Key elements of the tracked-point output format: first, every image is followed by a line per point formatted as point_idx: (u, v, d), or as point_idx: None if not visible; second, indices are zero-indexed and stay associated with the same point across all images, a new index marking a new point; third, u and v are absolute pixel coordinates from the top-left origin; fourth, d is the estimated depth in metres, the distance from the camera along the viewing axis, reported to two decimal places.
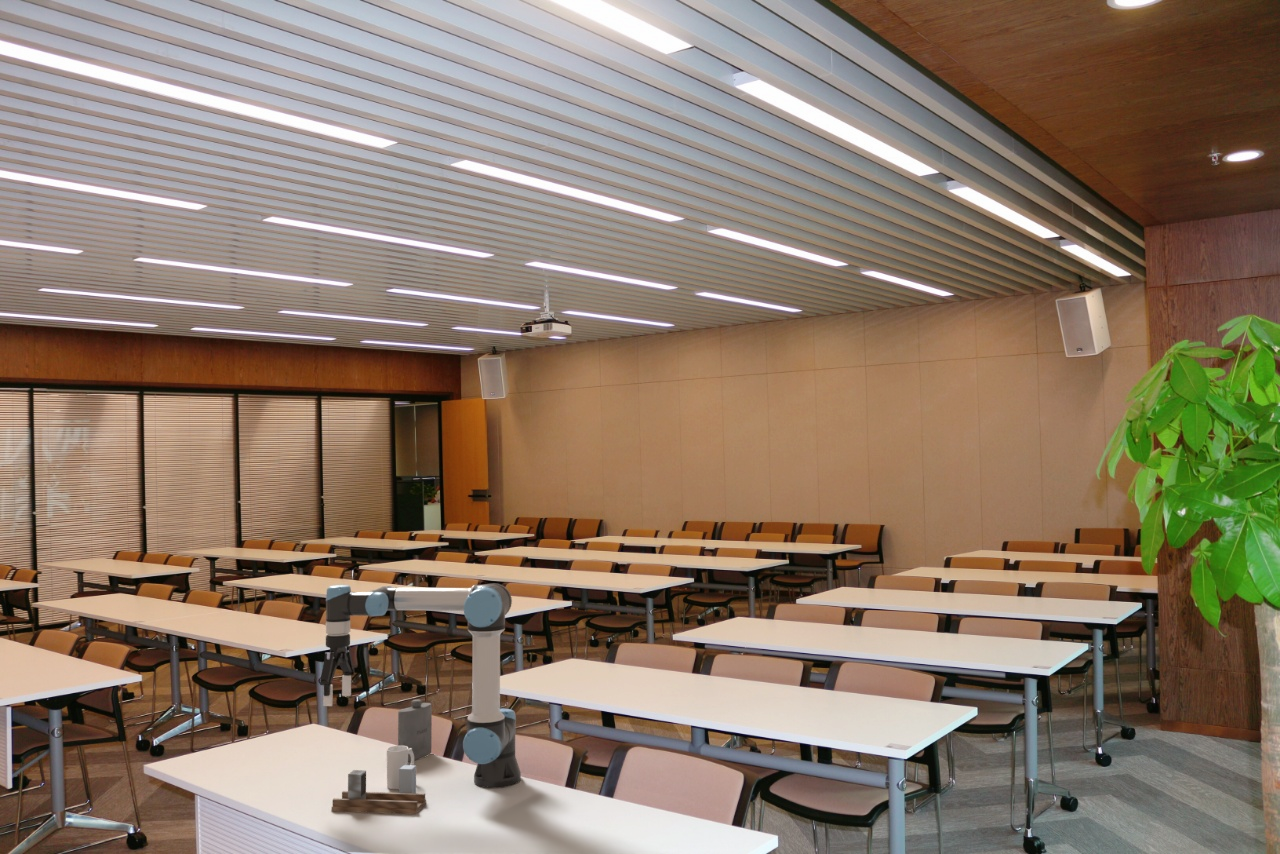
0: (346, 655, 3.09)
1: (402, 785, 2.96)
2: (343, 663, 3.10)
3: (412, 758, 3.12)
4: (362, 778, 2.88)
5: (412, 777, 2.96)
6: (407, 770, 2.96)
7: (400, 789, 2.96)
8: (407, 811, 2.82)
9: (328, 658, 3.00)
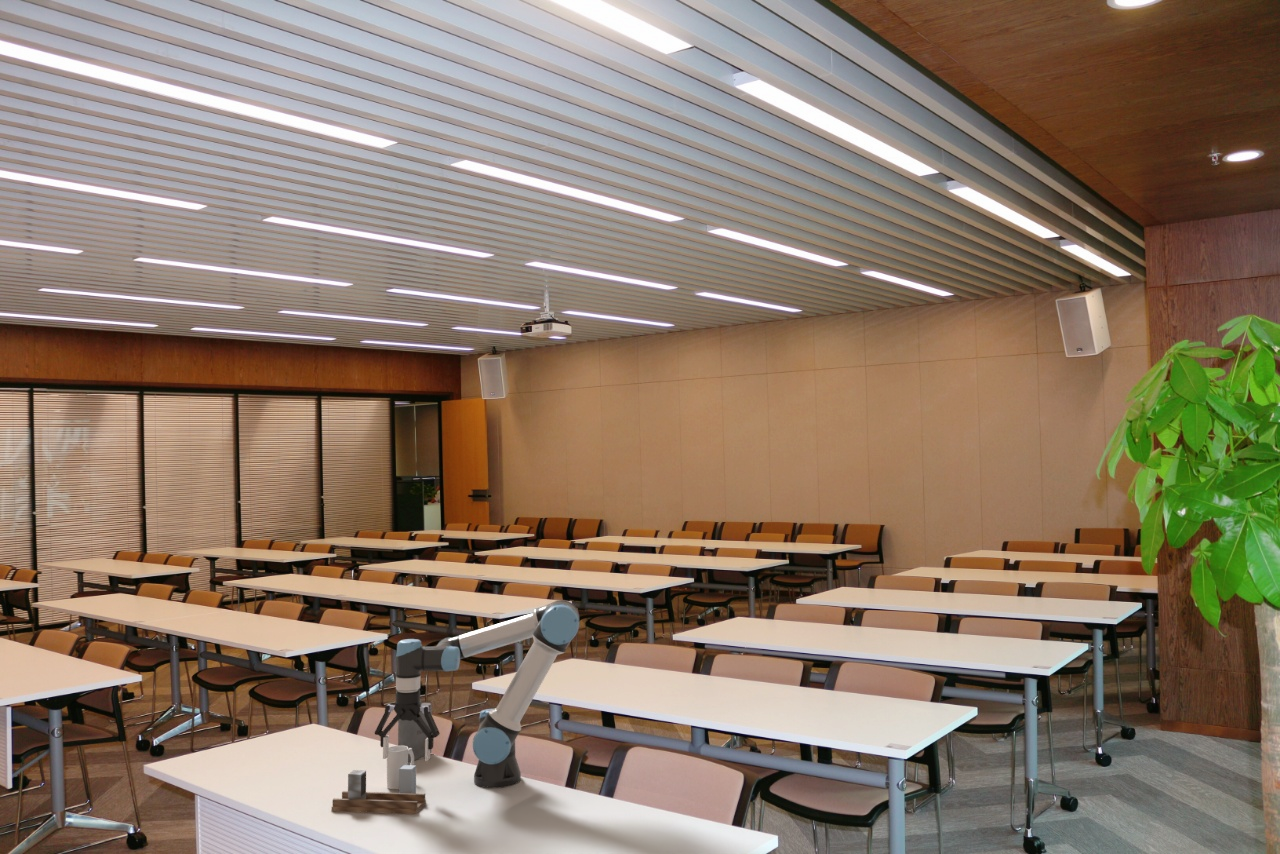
0: (414, 715, 2.97)
1: (402, 785, 2.96)
2: None
3: (412, 758, 3.12)
4: (362, 778, 2.88)
5: (412, 777, 2.96)
6: (407, 770, 2.96)
7: (400, 789, 2.96)
8: (407, 811, 2.82)
9: None
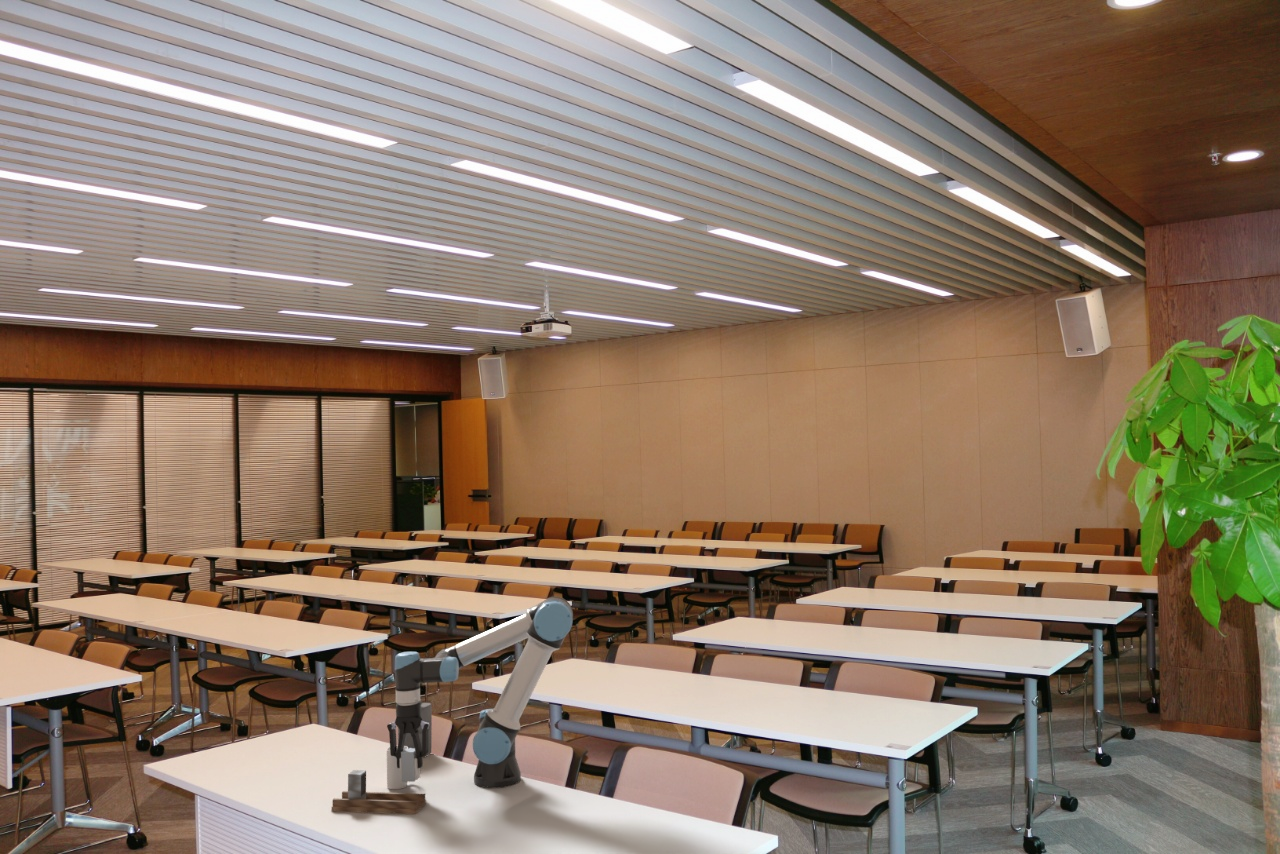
0: (413, 729, 2.97)
1: (404, 768, 2.96)
2: None
3: None
4: (362, 778, 2.88)
5: None
6: (409, 753, 2.96)
7: (402, 772, 2.96)
8: (407, 811, 2.82)
9: None
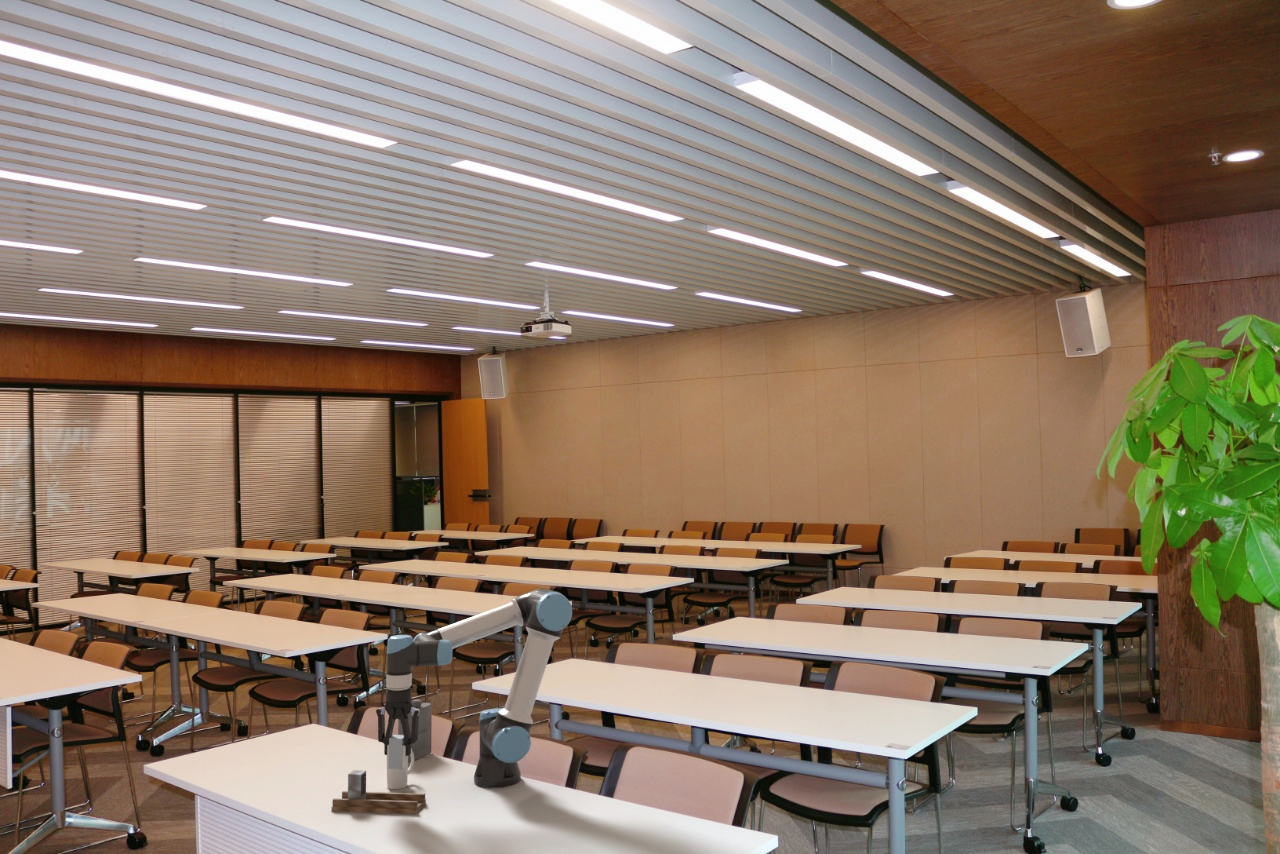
0: (403, 715, 2.86)
1: (391, 755, 2.86)
2: None
3: (412, 758, 3.12)
4: (362, 778, 2.88)
5: (402, 747, 2.86)
6: (397, 739, 2.86)
7: (390, 759, 2.86)
8: (407, 811, 2.82)
9: None
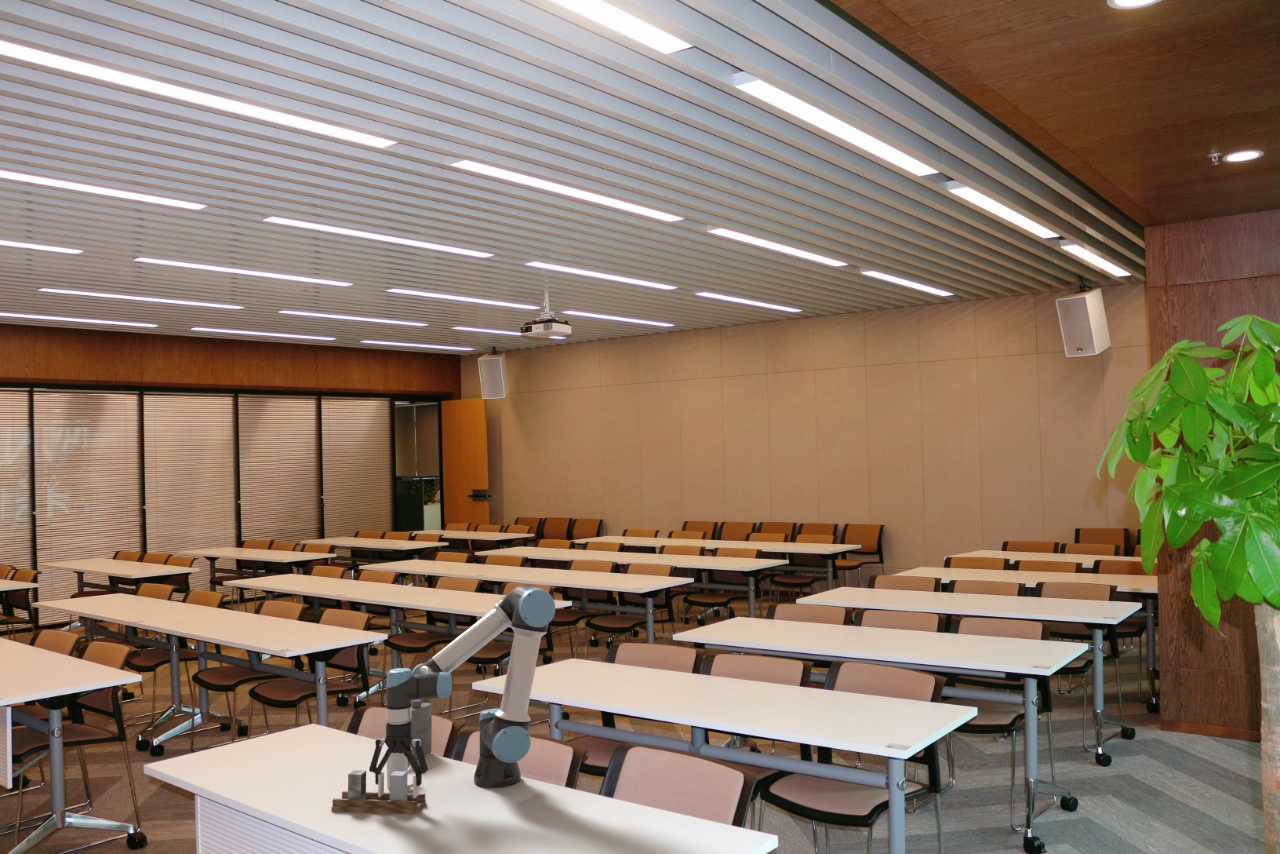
0: (404, 748, 2.86)
1: (392, 792, 2.85)
2: None
3: None
4: (362, 778, 2.88)
5: (403, 784, 2.86)
6: (398, 776, 2.85)
7: (391, 796, 2.85)
8: (407, 811, 2.82)
9: None
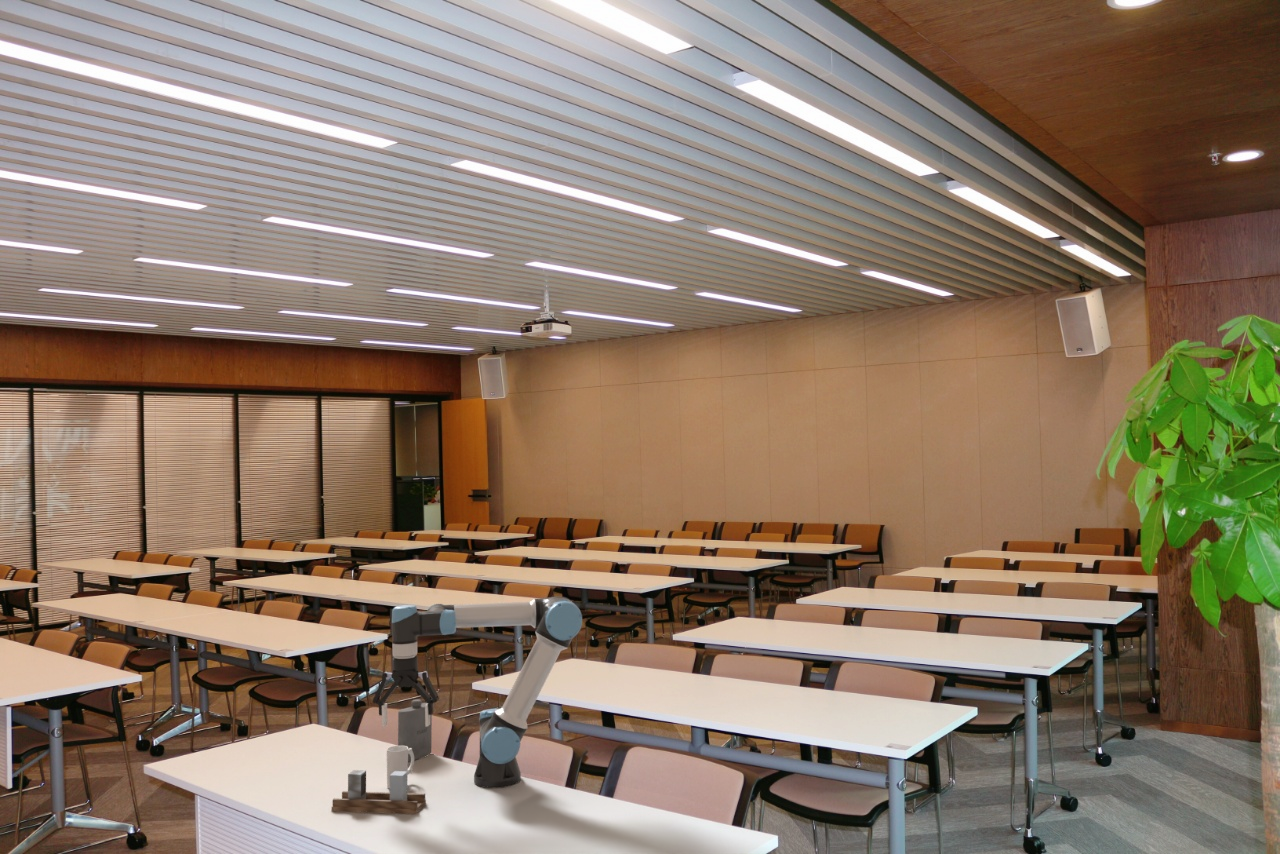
0: (412, 681, 2.93)
1: (392, 792, 2.85)
2: None
3: (412, 758, 3.12)
4: (362, 778, 2.88)
5: (403, 784, 2.86)
6: (398, 776, 2.85)
7: (391, 796, 2.85)
8: (407, 811, 2.82)
9: None
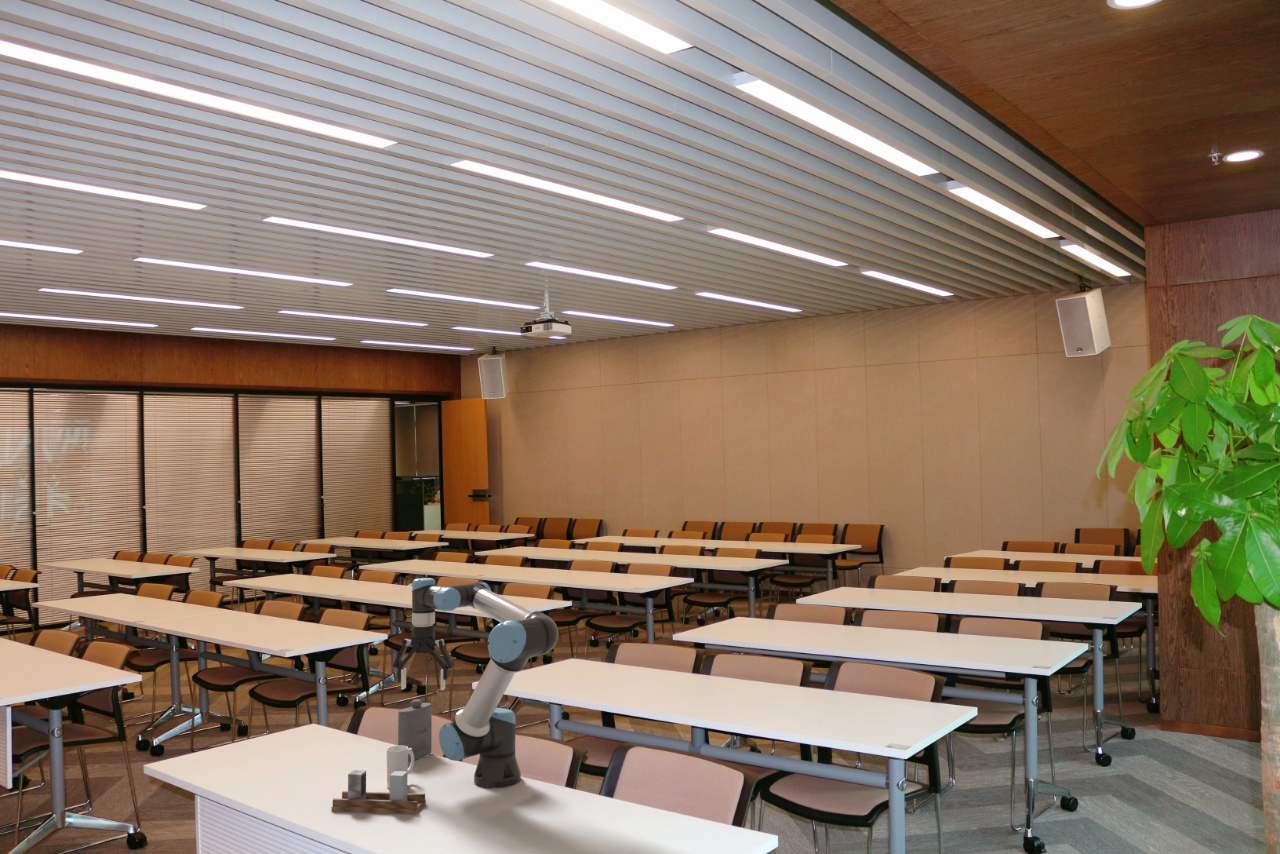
0: (429, 648, 3.17)
1: (392, 792, 2.85)
2: None
3: (412, 758, 3.12)
4: (362, 778, 2.88)
5: (403, 784, 2.86)
6: (398, 776, 2.85)
7: (391, 796, 2.85)
8: (407, 811, 2.82)
9: None
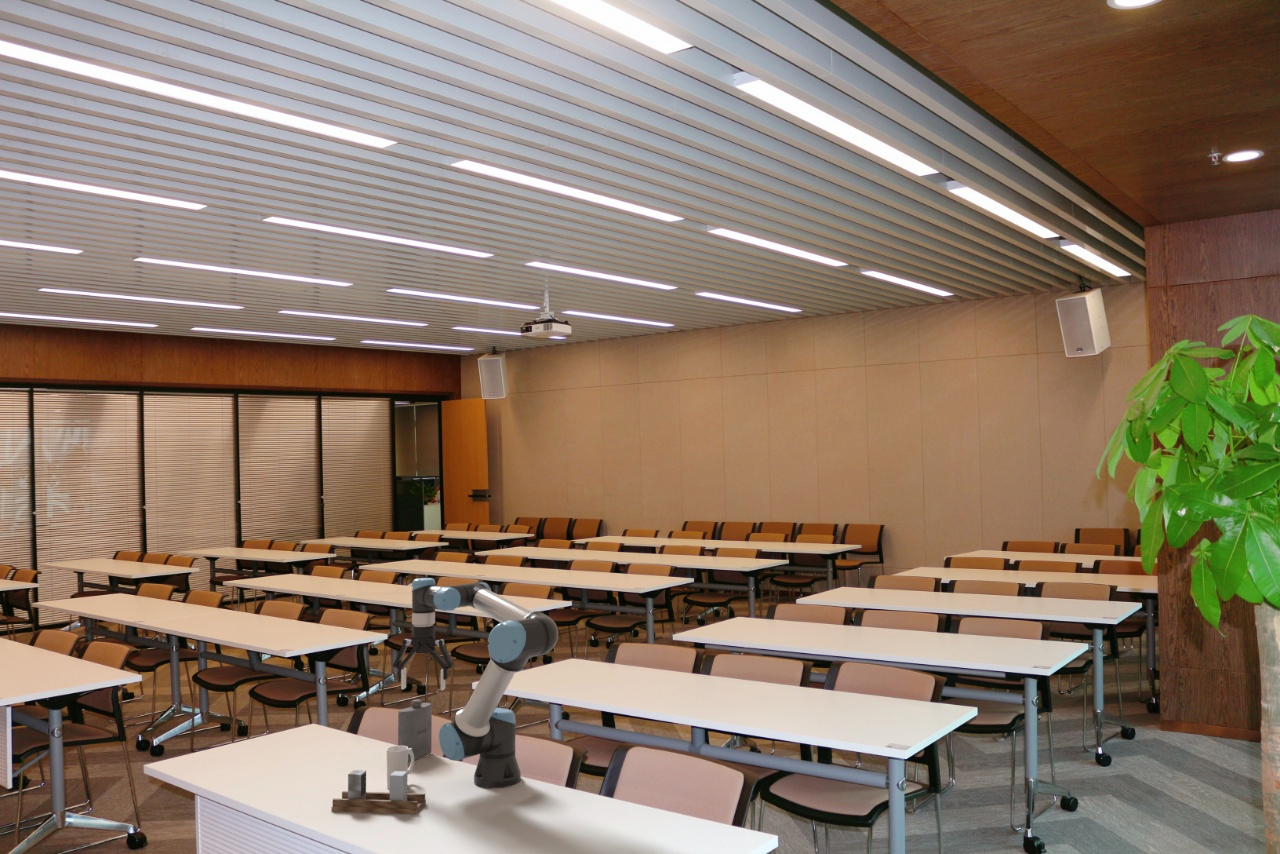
0: (429, 648, 3.17)
1: (392, 792, 2.85)
2: None
3: (412, 758, 3.12)
4: (362, 778, 2.88)
5: (403, 784, 2.86)
6: (398, 776, 2.85)
7: (391, 796, 2.85)
8: (407, 811, 2.82)
9: None
